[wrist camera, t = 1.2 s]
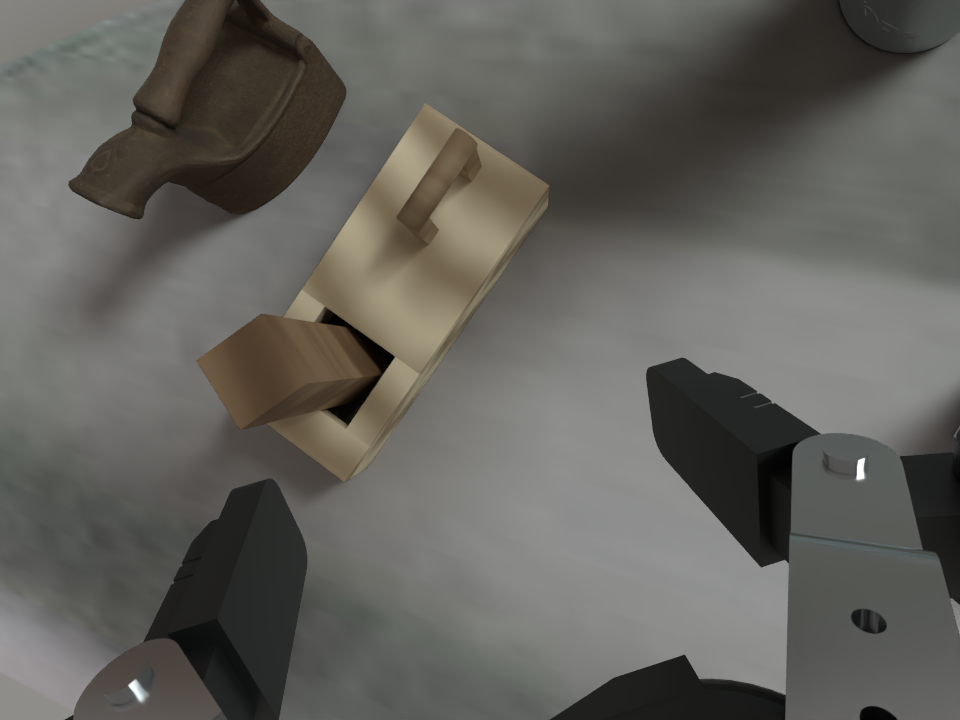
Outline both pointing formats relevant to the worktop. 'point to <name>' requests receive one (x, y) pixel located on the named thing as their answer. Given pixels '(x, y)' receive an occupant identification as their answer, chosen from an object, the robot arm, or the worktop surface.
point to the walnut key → (290, 369)
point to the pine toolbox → (413, 273)
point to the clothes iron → (219, 113)
